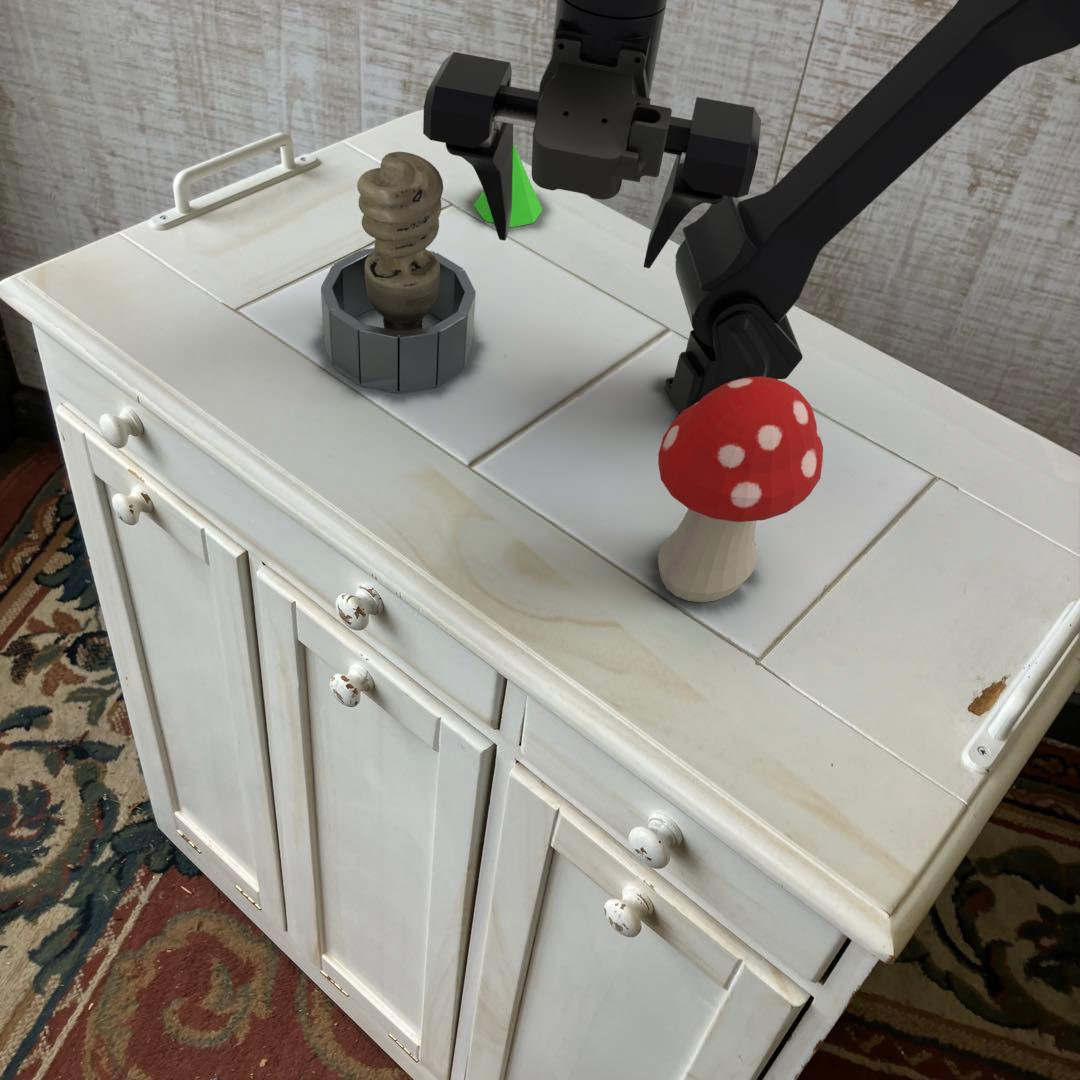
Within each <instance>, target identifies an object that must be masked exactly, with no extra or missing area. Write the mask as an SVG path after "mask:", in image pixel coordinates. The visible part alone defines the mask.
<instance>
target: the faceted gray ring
mask: <svg viewBox="0 0 1080 1080" xmlns="http://www.w3.org/2000/svg"><path fill="white" fill-rule="evenodd" d="M374 251H375V248H374V247H372V248H365V249H361V250H358V251H356V252H354V253H352V254H349V255H348V256H346V257H344V258H343V259H341V260H339V261H337V262H335V263H334V264H333V265H331V268H330V269H329V271H328V273H327V274H326V277H325V278H324V280H323V282H322V284H321V286H320V300H321V313H322V331H323V344H324V348H325V350H326V353H327V356H328V360H330V364H331V367H333V369H334V370H336V371H338V372H339V373H340V374H341V375H343V376H345V377H346V378H348V379H349V380H350V381H352V382H353V383H355V384H356V385H357V386H360V387H362V388H367V389H372V390H377V391H382V392H387V393H393V394H398V393H399V394H408V393H415V392H419V391H420V392H421V391H425V390H432V389H433V390H434V389H436V388H439V387H440V386H442V385H443V384H445V383H447V382H448V381H449V380H452V379H453V378H454V377H456V376H457V375H459V374H461V373H462V372H463V371H464V370H465V368H466V365H467V364H468V360H469V357H470V354H471V352H472V348H473V338H474V326H475V325H474V323H475V309H476V290H475V288H474V286H473V284H472V281H471V279H470V278H469V276H468V274H467V272H466V269H464V268H463V267H461V266H460V265H458V264H456V263H455V262H454V261H452V260H450V259H448V258H447V257H445V256H443V255H442V254H440V253H438V252H435V251H431V250H429V251H430V252H431V253H432V254H434V255H435V256H436V258H437V259H438V261H439V264H440V281H439V293H438V298H437V301H436V303H435V305H434V306H433V308H432V309H431V310H430V311H429V312H428V313H430V314H431V315H433V316H435V317H436V318H438V319H439V320H441V321H439V322H438V323H436V324H434V325H432V326H426V327H425V326H423V328H417V329H410V330H403V331H396V330H391V329H386V328H384V327H381V326H379V327H378V326H375V325H369V324H365V323H363V322H361V321H360V320H358V319H357V317H359V316H361V315H362V314H364V313H366V312H368V311H372V310H376V309H375V308H374V307H373V305H372V304H371V302H370V301H369V298H368V295H367V290H366V282H365V261H366V259H367V257H368V256H369V255H370V254H371V253H373V252H374Z"/></svg>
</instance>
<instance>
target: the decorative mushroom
mask: <svg viewBox="0 0 1080 1080" xmlns="http://www.w3.org/2000/svg"><path fill="white" fill-rule="evenodd" d="M823 458H824V445H823V443H822V440H821V436H820V432H819V429H818V424H817V420H816V417H815V413H814V410H813V408H812V406H811V404H810V402H809V401H808V400H807V399H806V397H805V396H804V395H803V394H802V393H801V391H800V390H799V389H797V388H796V387H794V386H792V385H791V384H789V383H787V382H785V381H784V380H781V379H778V380H777V379H774V378H768V377H747V378H741V379H738V380H734V381H731V382H728V383H726V384H724V385H722V386H720V387H718V388H716V389H715V390H713V391H711V392H709V393H708V394H707V395H705V396H704V397H703V398H702V399H701V400H700V401H699V402H697V403H695V404H694V405H692V406H690V407H689V408H687V409H685V410H683V411H682V412H681V414H680V413H679V415H678V416H677V417H676V418H675V419H674V421H672V423H671V424H670V426H669V427H668V429H667V430H666V431H665V433H664V435H663V436H662V439H661V444H660V447H659V450H658V457H657V459H658V460H657V463H658V470H659V476H660V481H661V482H662V484H663V485H664V487H665V489H666V490H667V491H668V493H669V495H670V496H671V497H672V498H674V499H675V500H676V501H677V502H679V503H680V504H681V505H683V506H684V507H686V509H687V511H686V512H685V514H684V516H683V518H682V520H681V522H680V523H679V525H678V527H677V528H676V530H675V531H674V532H672V534H670V536H668V538H667V539H666V540H665V541H664V543H662V545H661V546H660V549H659V552H658V555H657V564H658V570H659V575H660V581H661V582H662V583H663V586H664V587H665V589H666V590H667V591H668V592H669V593H671V594H672V595H674V597H677V598H679V599H683V600H685V601H688V602H693V603H694V602H696V603H706V602H714V601H717V600H721V599H724V598H727V597H729V596H730V595H731V594H732V593H734V592H736V590H738V589H740V587H741V586H742V585H743V584H744V583H745V582H746V581H747V580H748V578H749V577H750V576H751V575H752V574H753V572H754V571H755V569H756V566H757V562H758V559H759V556H758V550H757V545H756V542H755V537H756V526H757V522H758V521H766V520H769V519H772V518H775V517H778V516H780V515H784V514H786V513H788V512H790V511H791V510H793V509H795V507H797V506H798V505H800V504H801V503H803V502H804V501H805V500H806V499H807V498H808V497H809V496H810V494H811V493H812V492H813V490H814V489H815V487H816V486H817V484H818V483H819V481H820V480H821V475H822V469H823V461H824V460H823Z"/></svg>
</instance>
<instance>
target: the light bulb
mask: <svg viewBox="0 0 1080 1080" xmlns="http://www.w3.org/2000/svg"><path fill="white" fill-rule="evenodd" d="M443 182H444V181H443V178H442V176H441V173H440V171H439V170H438V169H437V168H436V167H435V166H434V164H432V163H431V162H430V161H428V160H427V159H425V158H424V157H422V156H420V155H419V154H414V153H411V152H406V151H393V152H388V153H387V154H385V155H384V156H383V158H381V162H380V166H379V167H376V168H375V167H374V168H371V169H368V170H367V171H365V172H363V173H362V174H361V175H360V176H359V178H358V180H357V183H356V187H357V191H358V193H359V197H358V209H359V210H360V212H361V213H362V216H361V227H362V229H363V230H364V232H365V233H366V234H367V235H368V236H370V237H372V238H374V239H375V242H374V247H373V248H375V251H374V252H373V253H371V254H370V255H369V256H368V257H367V259H366V261H365V282H366V290H367V295H368V298H369V301H370V302H371V304H372V305H373V307H374V308H375V309H374V310H376V311H377V312H378V313H379V314H380V315H381V316H382V319H383V320H382V322H383V328H386V329H391V330H396V331H403V330H410V329H417V328H424V326H423V320H424V317H425V316H426V314H427V313H430V312H429V311H430V310H431V309H432V308H433V306H434V305H435V303H436V301H437V298H438V293H439V281H440V264H439V261H438V259H437V258H436V256H435V255H434V254H432V253H431V252H430V251H431V250H428V249H427V248H429V246H430V245H431V244H432V243H433V242H434V241H435V239H436V238H437V236H438V233H439V229H440V220H439V218H440V216H441V214H442V213H441V212H442V196H443V192H444V183H443Z"/></svg>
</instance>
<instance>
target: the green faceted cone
mask: <svg viewBox="0 0 1080 1080" xmlns="http://www.w3.org/2000/svg"><path fill="white" fill-rule="evenodd" d="M473 207H474V209H475V210H476V211H477V213H478V214H479V215H480V217H481V218H482V219H483V221H486V222H489V223H492V224H494V221H493V218H492V215H491V212H490V208H489V205H488V202H487V199H486V196H485V193H484V190H482V192H481V194H480V195H479V197H478V199H477V200H476V201H475V203H474V204H473ZM542 212H543V208H542V206H541V203H540V200H539V199H538V196H537V194H536V192H535V189H534V186H533V185H532V183H531V180H530V178H529V176H528V174H527V171H526V169H525V166H524V164H523V162H522V159H521V157H520V154H519V152H518V150H517V148H516V146H515V144H514V143H513V169H512V211H511V218H510V225H509V228H515V227H520V226H526V225H532V224H534V223H535V221H536V220H537V219H538V218H539V216H540V215H541V213H542Z"/></svg>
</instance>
